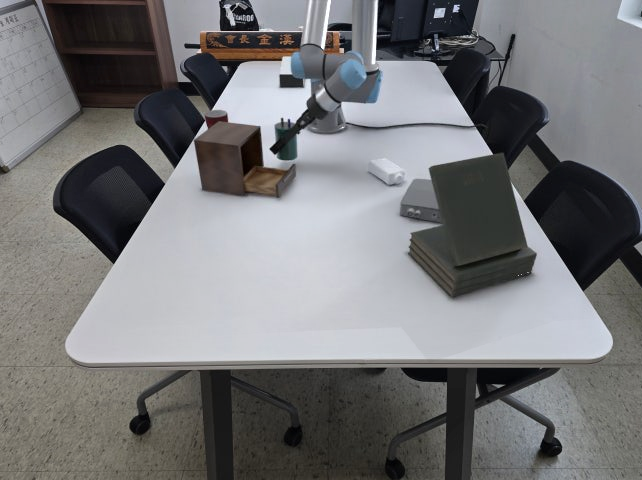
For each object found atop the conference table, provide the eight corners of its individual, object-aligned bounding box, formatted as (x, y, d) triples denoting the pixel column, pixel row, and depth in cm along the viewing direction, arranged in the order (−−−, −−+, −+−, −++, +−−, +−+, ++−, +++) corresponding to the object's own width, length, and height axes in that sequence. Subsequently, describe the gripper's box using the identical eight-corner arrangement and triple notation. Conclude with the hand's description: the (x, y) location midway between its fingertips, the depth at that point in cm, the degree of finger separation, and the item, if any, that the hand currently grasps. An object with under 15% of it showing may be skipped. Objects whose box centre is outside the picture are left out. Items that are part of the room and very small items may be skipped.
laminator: (303, 87, 237) (303, 74, 233) (277, 87, 236) (276, 74, 232) (304, 68, 264) (303, 56, 260) (281, 68, 263) (280, 56, 259)
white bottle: (390, 188, 155) (391, 175, 152) (368, 172, 164) (369, 160, 161) (407, 183, 157) (408, 171, 155) (384, 168, 166) (385, 156, 164)
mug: (223, 148, 178) (220, 120, 172) (202, 146, 179) (198, 119, 173) (233, 137, 186) (230, 110, 180) (213, 135, 187) (209, 109, 181)
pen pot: (297, 152, 167) (296, 113, 160) (297, 160, 162) (296, 121, 154) (276, 152, 167) (274, 114, 159) (276, 161, 161) (273, 121, 154)
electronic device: (474, 233, 134) (478, 217, 131) (397, 218, 140) (398, 202, 137) (483, 201, 148) (486, 186, 145) (413, 189, 154) (414, 174, 151)
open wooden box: (264, 174, 162) (260, 126, 152) (244, 196, 149) (238, 145, 140) (225, 168, 164) (219, 121, 155) (202, 189, 152) (193, 139, 142)
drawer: (297, 176, 158) (296, 164, 156) (280, 198, 147) (279, 185, 144) (256, 170, 161) (255, 158, 159) (236, 191, 149) (235, 178, 147)
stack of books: (450, 298, 112) (469, 199, 97) (407, 253, 126) (418, 161, 111) (531, 275, 119) (560, 180, 104) (481, 234, 134) (501, 146, 118)
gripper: (324, 83, 157) (279, 128, 170) (303, 102, 142) (256, 150, 155) (340, 102, 159) (294, 144, 172) (321, 122, 144) (273, 167, 157)
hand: (276, 147), depth 164 cm, fingers closed on pen pot, 7 cm apart
